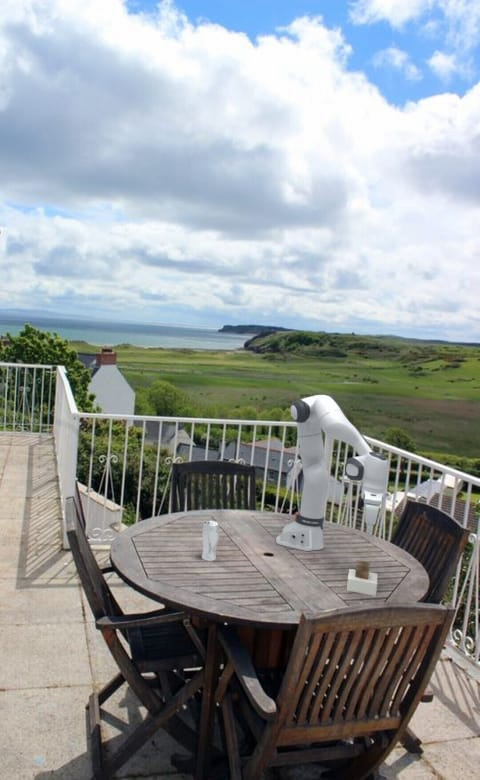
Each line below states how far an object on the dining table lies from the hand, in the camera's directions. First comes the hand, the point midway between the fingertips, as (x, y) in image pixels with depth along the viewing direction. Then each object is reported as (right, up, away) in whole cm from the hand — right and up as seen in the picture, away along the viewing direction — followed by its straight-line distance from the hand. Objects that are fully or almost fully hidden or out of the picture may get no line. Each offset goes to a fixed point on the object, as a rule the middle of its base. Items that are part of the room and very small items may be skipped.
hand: (368, 529), depth 220 cm
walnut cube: (-2, -18, +1) cm, 19 cm away
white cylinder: (-63, -17, +17) cm, 67 cm away
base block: (-2, -23, +1) cm, 24 cm away
